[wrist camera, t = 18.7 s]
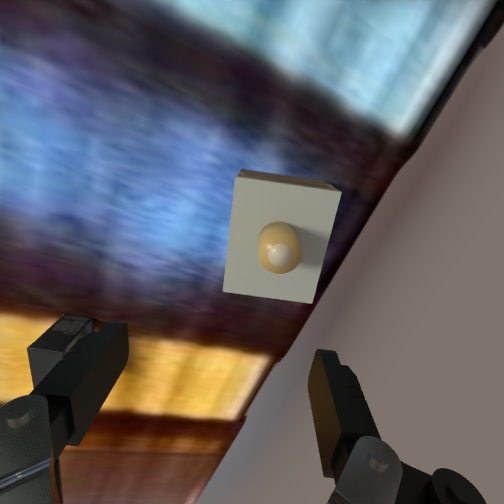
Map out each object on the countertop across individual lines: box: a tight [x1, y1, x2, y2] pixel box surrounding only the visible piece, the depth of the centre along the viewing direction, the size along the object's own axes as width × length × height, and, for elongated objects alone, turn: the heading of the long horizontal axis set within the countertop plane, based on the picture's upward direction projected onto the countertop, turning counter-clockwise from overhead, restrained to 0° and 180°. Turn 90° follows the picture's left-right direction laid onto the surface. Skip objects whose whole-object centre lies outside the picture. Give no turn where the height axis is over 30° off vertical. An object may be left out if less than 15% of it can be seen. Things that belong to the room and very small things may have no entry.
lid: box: [223, 176, 342, 304], centre depth 41 cm, size 18×14×1 cm
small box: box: [27, 314, 94, 388], centre depth 55 cm, size 11×6×10 cm, turn 170°
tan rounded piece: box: [258, 222, 302, 274], centre depth 38 cm, size 6×6×5 cm
